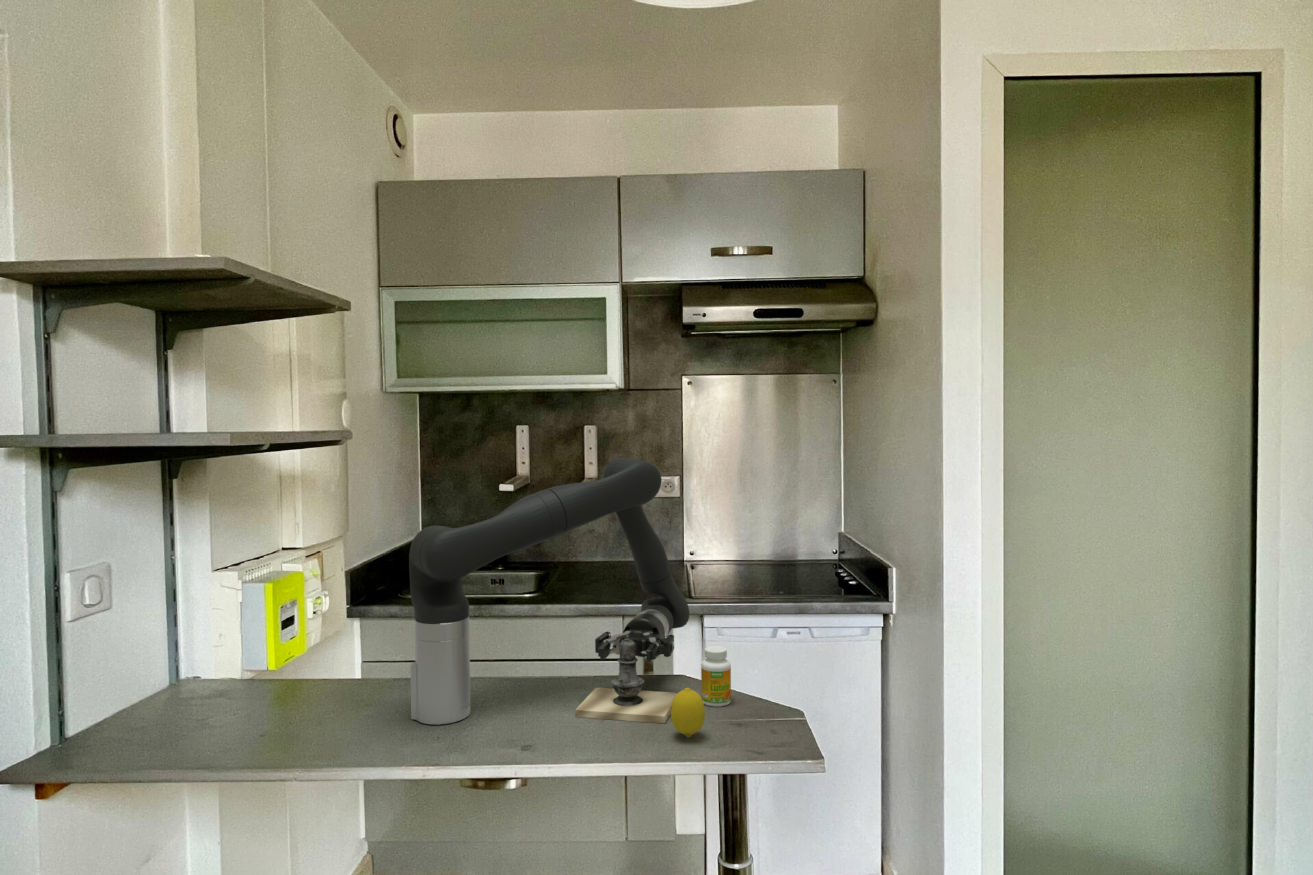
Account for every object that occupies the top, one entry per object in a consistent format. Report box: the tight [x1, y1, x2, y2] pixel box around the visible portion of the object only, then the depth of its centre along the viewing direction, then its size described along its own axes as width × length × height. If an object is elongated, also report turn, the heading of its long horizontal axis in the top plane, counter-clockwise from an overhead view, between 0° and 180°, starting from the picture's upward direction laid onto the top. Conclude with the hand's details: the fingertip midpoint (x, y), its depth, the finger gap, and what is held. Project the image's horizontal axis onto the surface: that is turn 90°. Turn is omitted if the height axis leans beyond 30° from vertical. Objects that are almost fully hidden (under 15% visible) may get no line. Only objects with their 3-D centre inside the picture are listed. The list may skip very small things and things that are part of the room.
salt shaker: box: [611, 634, 645, 706], centre depth 137 cm, size 6×6×12 cm
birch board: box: [574, 687, 679, 724], centre depth 137 cm, size 16×12×1 cm
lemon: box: [670, 687, 706, 738], centre depth 123 cm, size 6×6×8 cm
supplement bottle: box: [700, 645, 732, 708], centre depth 139 cm, size 5×5×10 cm
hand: (625, 655), depth 135 cm, fingers open, 8 cm apart
